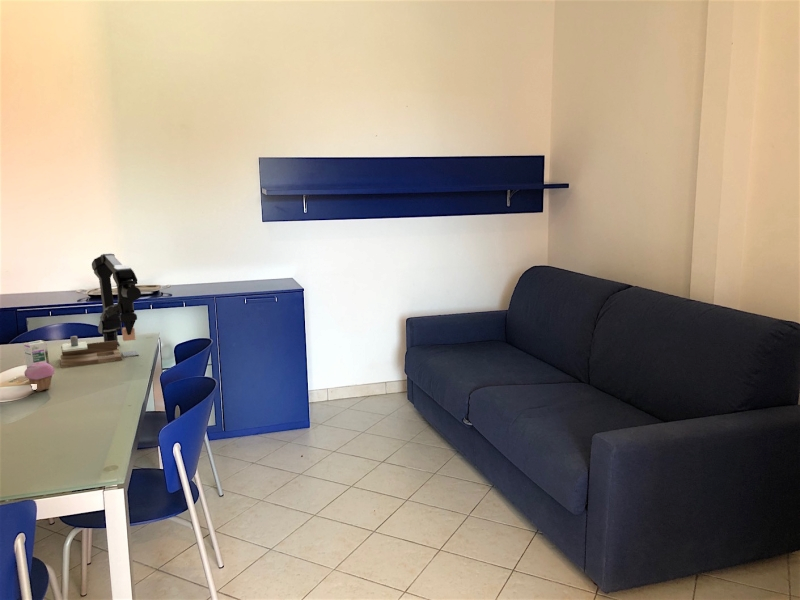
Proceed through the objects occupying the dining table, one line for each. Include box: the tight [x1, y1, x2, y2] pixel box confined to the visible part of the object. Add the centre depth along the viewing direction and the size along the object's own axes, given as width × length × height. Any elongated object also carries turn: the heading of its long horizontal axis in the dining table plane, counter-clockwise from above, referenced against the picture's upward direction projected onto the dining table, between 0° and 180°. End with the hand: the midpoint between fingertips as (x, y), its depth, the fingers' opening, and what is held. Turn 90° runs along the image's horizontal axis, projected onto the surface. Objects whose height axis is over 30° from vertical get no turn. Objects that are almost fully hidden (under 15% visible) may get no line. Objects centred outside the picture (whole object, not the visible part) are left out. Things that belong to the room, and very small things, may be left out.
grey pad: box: [121, 350, 140, 358], centre depth 257 cm, size 8×6×1 cm
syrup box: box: [23, 339, 50, 369], centre depth 221 cm, size 6×6×14 cm
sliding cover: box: [61, 335, 88, 353], centre depth 248 cm, size 12×9×5 cm
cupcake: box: [24, 362, 55, 392], centre depth 209 cm, size 9×9×10 cm
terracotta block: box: [121, 326, 136, 342], centre depth 256 cm, size 4×4×5 cm
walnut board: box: [60, 340, 123, 369], centre depth 250 cm, size 16×22×5 cm
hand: (128, 333), depth 256 cm, fingers closed on terracotta block, 4 cm apart
